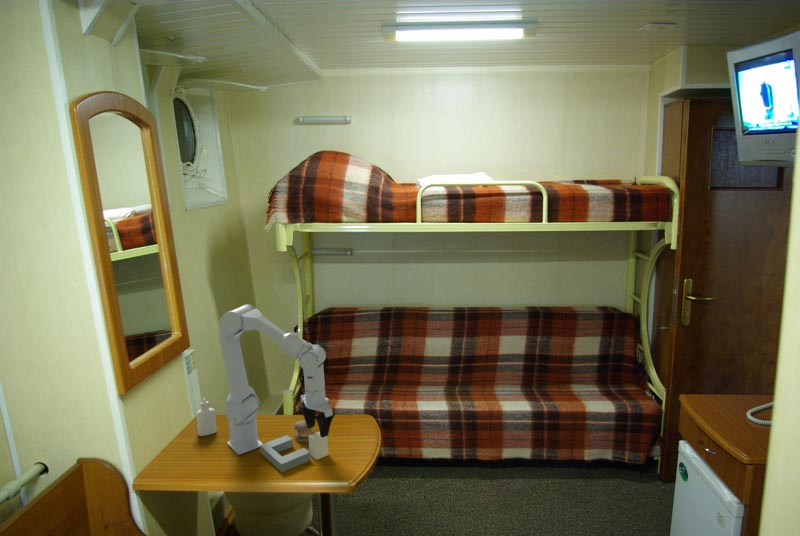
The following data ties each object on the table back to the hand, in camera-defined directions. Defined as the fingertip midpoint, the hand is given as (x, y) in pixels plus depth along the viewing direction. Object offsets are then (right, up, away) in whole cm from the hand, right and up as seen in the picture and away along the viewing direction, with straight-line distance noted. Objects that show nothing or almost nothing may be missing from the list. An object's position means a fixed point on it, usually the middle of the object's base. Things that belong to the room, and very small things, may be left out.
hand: (317, 431), depth 143 cm
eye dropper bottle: (-39, -6, +16) cm, 43 cm away
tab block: (0, -7, +1) cm, 7 cm away
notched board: (-10, -8, +1) cm, 12 cm away
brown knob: (-6, -6, +12) cm, 14 cm away
